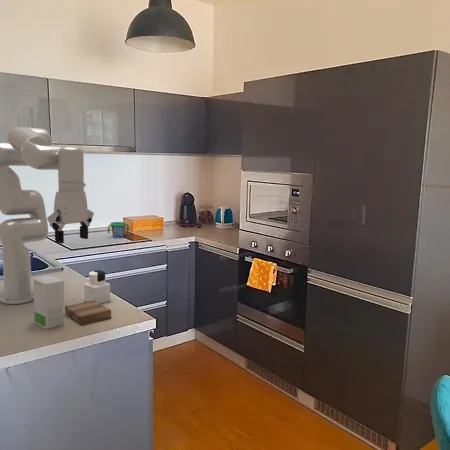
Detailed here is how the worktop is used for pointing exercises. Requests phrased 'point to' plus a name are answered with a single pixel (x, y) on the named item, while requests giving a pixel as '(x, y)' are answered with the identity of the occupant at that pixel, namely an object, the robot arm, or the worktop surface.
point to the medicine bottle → (97, 287)
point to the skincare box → (48, 301)
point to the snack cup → (118, 229)
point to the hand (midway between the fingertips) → (72, 240)
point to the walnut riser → (87, 312)
